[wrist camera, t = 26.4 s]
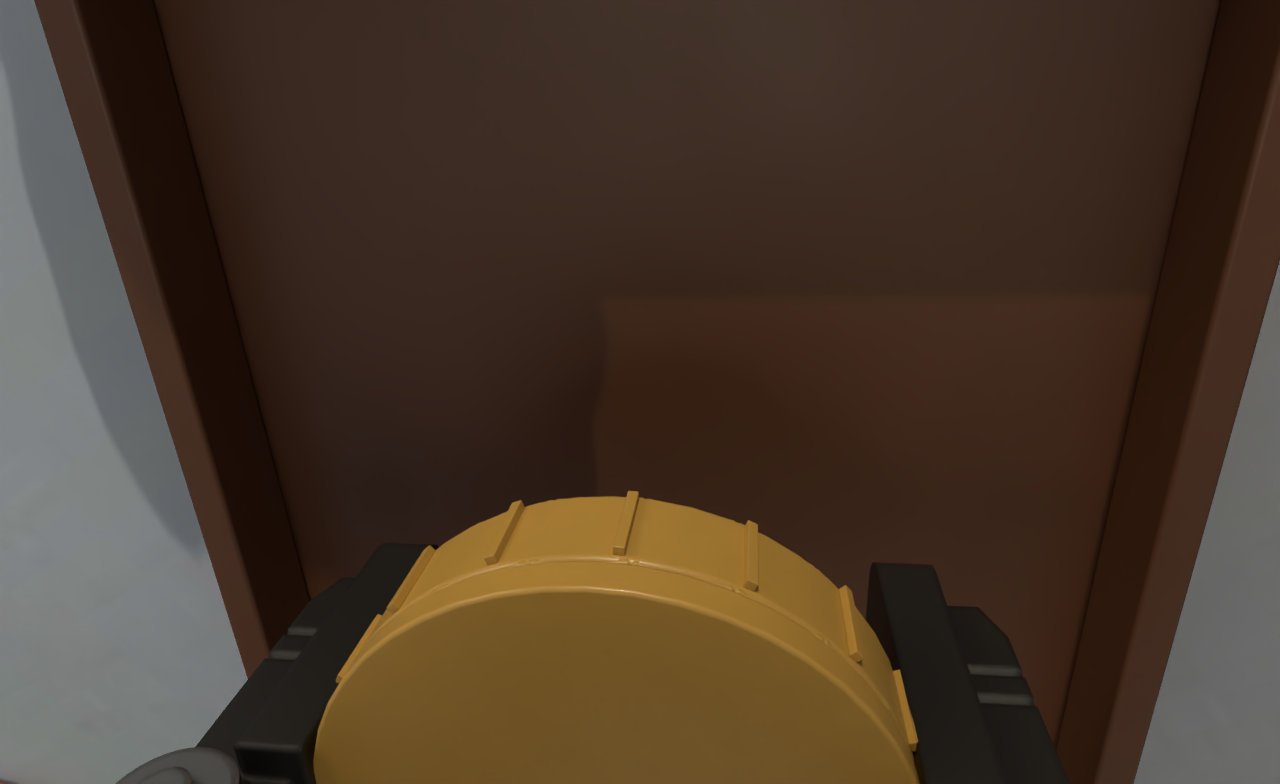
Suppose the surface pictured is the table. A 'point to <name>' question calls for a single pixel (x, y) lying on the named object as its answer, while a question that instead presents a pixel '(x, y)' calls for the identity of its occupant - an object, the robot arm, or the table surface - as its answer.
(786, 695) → the jar lid
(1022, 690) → the robot arm
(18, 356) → the table surface
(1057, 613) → the tray
